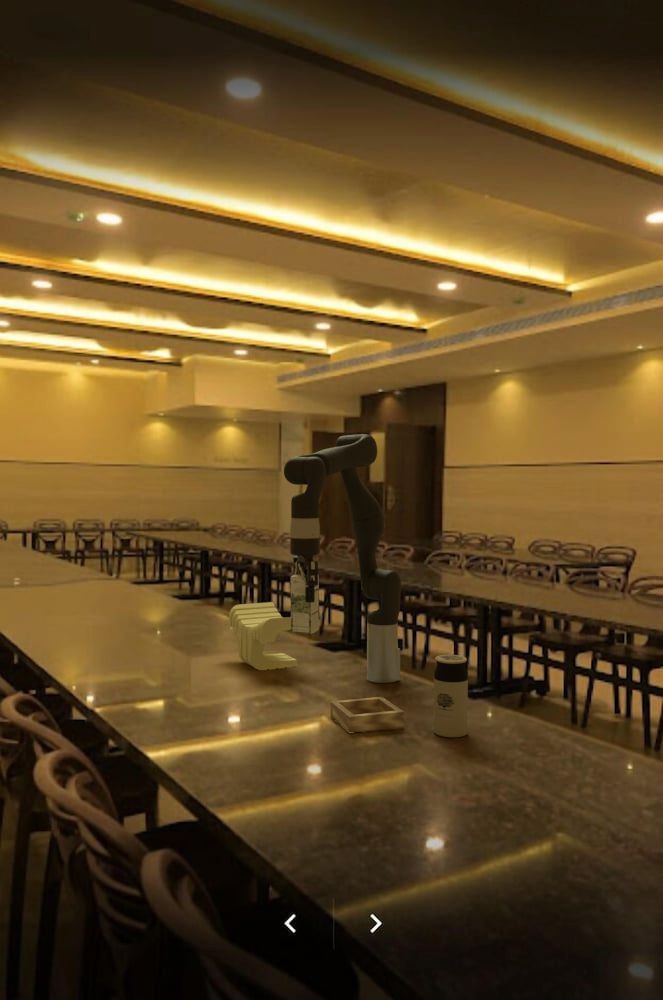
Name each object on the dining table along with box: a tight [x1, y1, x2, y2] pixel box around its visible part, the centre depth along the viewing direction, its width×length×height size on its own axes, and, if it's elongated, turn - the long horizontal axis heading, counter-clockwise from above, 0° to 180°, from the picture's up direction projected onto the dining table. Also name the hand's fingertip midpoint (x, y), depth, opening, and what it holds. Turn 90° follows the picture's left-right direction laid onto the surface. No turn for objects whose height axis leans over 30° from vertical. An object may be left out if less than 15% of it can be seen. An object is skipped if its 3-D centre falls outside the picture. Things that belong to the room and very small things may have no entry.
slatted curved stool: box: [228, 601, 299, 671], centre depth 259 cm, size 30×16×18 cm, turn 27°
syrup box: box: [290, 574, 320, 635], centre depth 202 cm, size 6×6×14 cm
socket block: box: [330, 696, 405, 733], centre depth 198 cm, size 14×14×4 cm
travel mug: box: [433, 654, 469, 739], centre depth 189 cm, size 8×8×18 cm
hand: (305, 599), depth 202 cm, fingers closed on syrup box, 8 cm apart
